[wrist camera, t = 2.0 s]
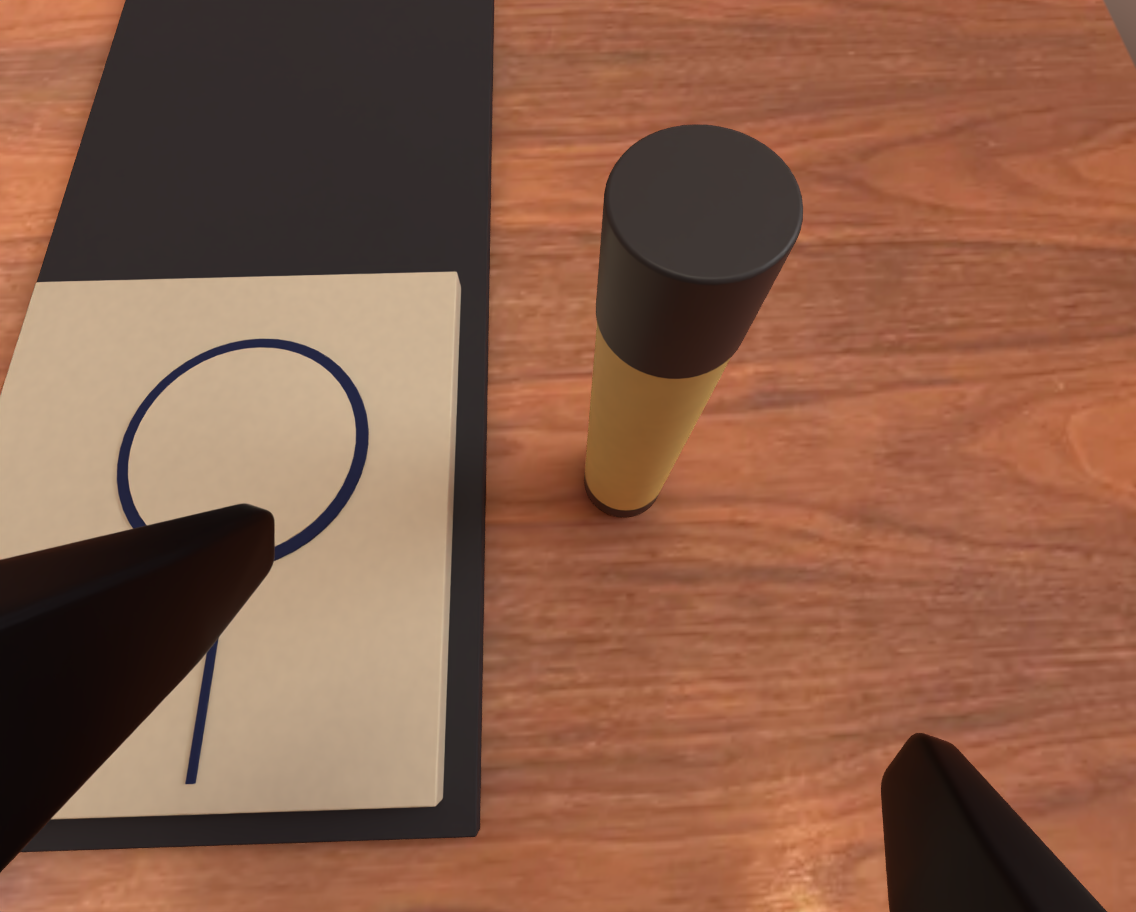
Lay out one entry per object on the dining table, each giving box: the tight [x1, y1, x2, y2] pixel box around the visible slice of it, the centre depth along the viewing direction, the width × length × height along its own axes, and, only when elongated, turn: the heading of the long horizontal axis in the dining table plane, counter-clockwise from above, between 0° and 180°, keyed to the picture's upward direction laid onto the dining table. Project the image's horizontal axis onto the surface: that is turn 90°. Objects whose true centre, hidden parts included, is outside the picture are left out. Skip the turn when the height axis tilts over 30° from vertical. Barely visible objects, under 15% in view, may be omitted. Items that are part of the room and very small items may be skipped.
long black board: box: [0, 0, 494, 852], centre depth 28 cm, size 66×18×2 cm, turn 2°
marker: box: [584, 125, 803, 517], centre depth 15 cm, size 3×3×14 cm
